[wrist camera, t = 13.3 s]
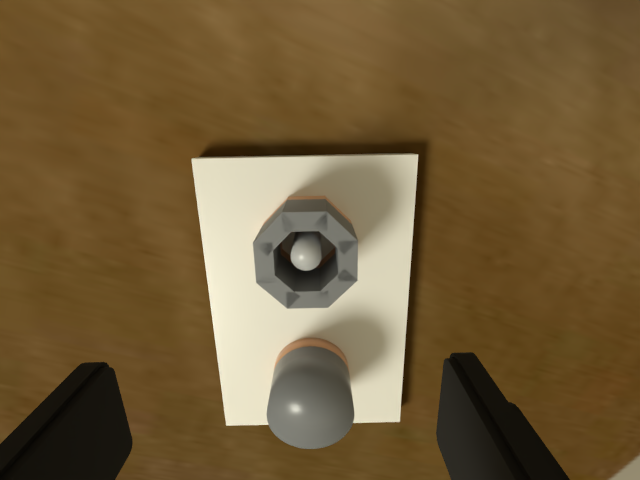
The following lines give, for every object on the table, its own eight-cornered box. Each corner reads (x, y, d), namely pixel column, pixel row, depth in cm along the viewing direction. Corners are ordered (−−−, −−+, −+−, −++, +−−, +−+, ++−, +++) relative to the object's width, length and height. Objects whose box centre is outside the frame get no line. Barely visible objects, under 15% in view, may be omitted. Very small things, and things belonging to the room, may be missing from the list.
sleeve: (350, 194, 25) (358, 210, 20) (350, 275, 27) (357, 307, 22) (262, 196, 25) (250, 212, 20) (268, 277, 27) (258, 309, 22)
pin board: (412, 153, 26) (443, 160, 19) (396, 409, 33) (414, 473, 27) (198, 157, 25) (160, 166, 19) (230, 412, 33) (210, 478, 27)
